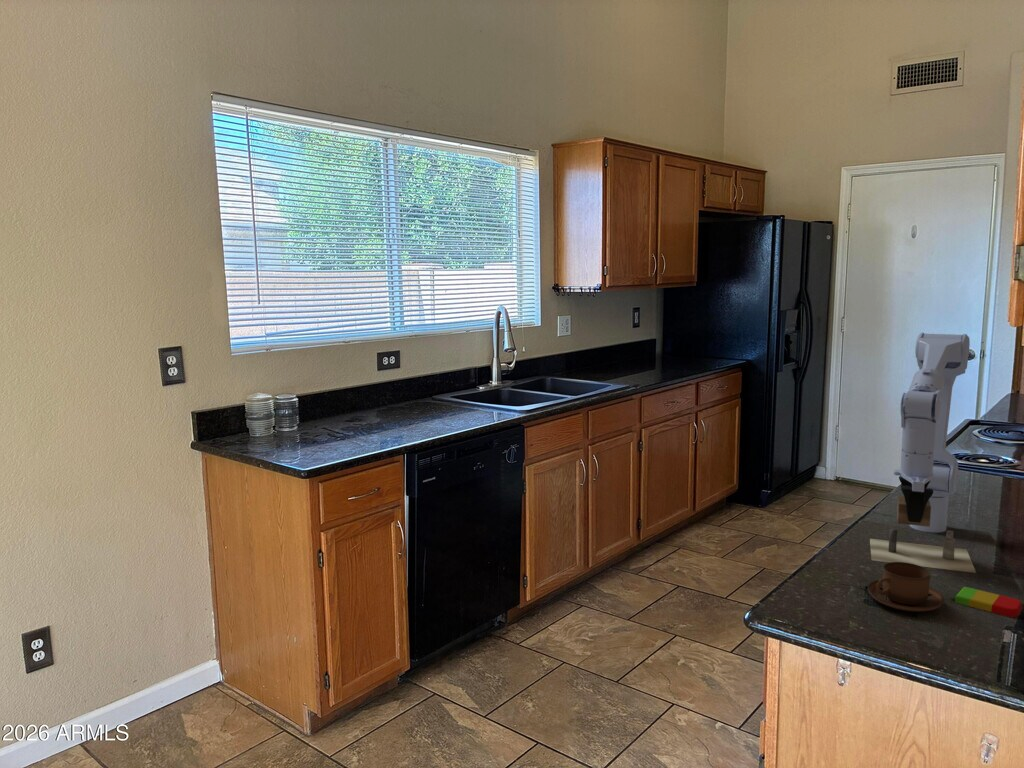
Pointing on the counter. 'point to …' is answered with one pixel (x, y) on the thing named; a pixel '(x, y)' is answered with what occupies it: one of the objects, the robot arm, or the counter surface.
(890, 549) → the fitting board
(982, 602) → the popsicle
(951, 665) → the counter surface
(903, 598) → the cup and saucer
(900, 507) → the collar
